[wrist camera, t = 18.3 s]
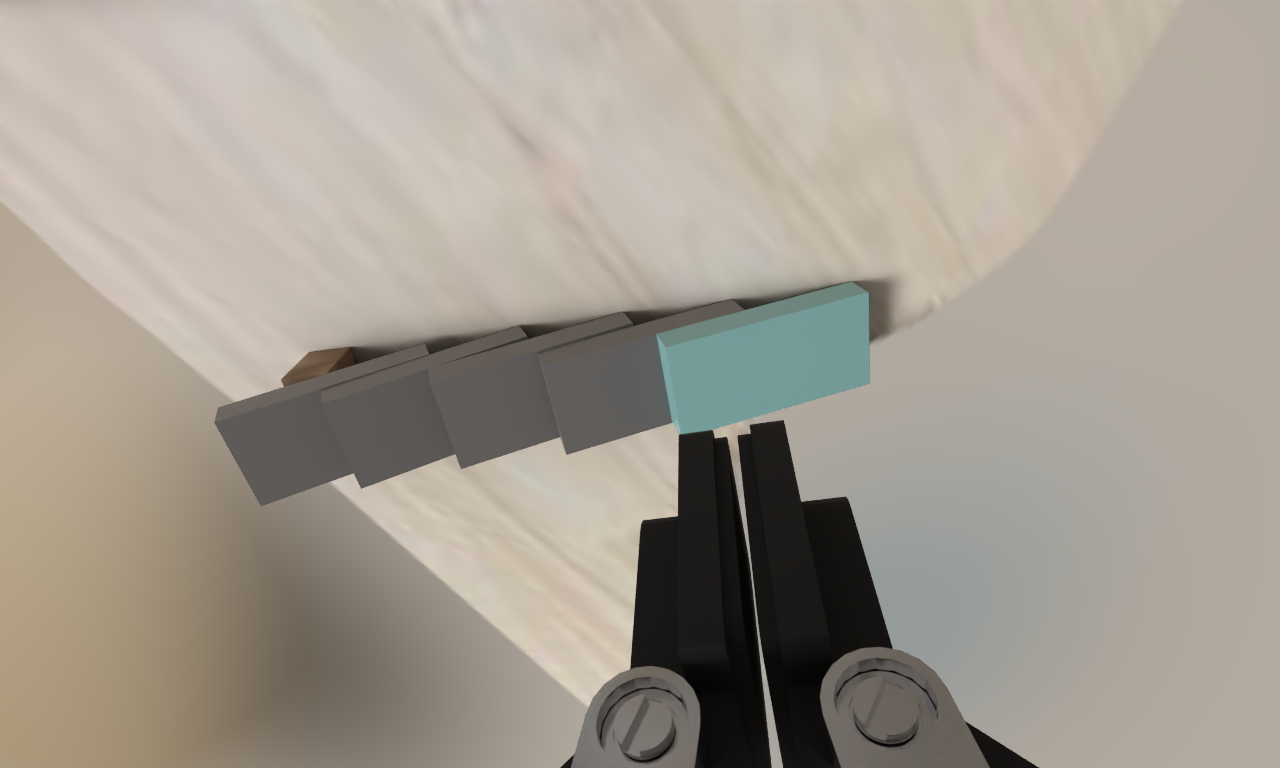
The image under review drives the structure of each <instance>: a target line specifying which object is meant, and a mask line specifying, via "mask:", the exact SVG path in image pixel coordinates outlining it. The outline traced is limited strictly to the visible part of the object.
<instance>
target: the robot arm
mask: <svg viewBox="0 0 1280 768" xmlns="http://www.w3.org/2000/svg"><path fill="white" fill-rule="evenodd" d="M750 431H751V434H745V435H738V444H739V453H740V463H741V472H742V481H743V490H744V499H745V507H746V517H747V526H748V535H749V543H750V553H751V562H752V571H753V580H754V589H755V598H756V607H757V616H758V624H759V632H760V639H761V646H762V652H763V658H764V664H765V669H766V675H767V680H768V686H769V691H770V696H771V701H772V707H773V713H774V718H775V724H776V730H777V735H778V741H779V746H780V752H781V758H782V763H783V768H1038V767H1037V766H1035V765H1034V764H1032V763H1030V762H1029V761H1027V760H1026V759H1024V758H1022V757H1021V756H1019V755H1018V754H1016V753H1015V752H1013V751H1011V750H1010V749H1008V748H1007V747H1005V746H1004V745H1002V744H1000V743H999V742H997V741H996V740H994V739H992V738H991V737H989V736H988V735H986V734H985V733H983V732H981V731H980V730H978V729H977V728H975V727H973V726H972V725H970V724H969V723H967V722H965V720H964V719H963V717H962V715H961V713H960V711H959V710H958V707H957V705H956V704H955V702H954V700H953V698H952V696H951V694H950V692H949V691H948V689H947V687H946V686H945V684H944V683H943V682H942V680H941V679H940V678H939V676H938V675H937V673H936V672H935V671H934V670H932V669H931V668H930V667H928V666H927V665H926V664H925V663H924V662H922V661H921V660H920V659H918V658H916V657H914V656H911V655H909V654H907V653H905V652H903V651H900V650H895V649H893V648H892V645H891V641H890V638H889V635H888V631H887V628H886V624H885V621H884V618H883V614H882V611H881V607H880V604H879V601H878V597H877V594H876V591H875V587H874V584H873V580H872V577H871V574H870V571H869V567H868V564H867V560H866V557H865V554H864V550H863V547H862V544H861V540H860V537H859V533H858V530H857V527H856V523H855V520H854V516H853V513H852V510H851V507H850V504H849V501H848V499H847V497H839V498H830V499H823V500H813V501H805V502H801V500H800V495H799V490H798V486H797V481H796V476H795V471H794V467H793V462H792V457H791V452H790V447H789V443H788V438H787V434H786V428H785V424H784V420H782V421H774V422H766V423H759V424H752V425H750ZM561 768H772V767H771V757H770V748H769V738H768V729H767V721H766V710H765V701H764V692H763V682H762V673H761V664H760V654H759V645H758V636H757V627H756V617H755V608H754V599H753V589H752V580H751V572H750V564H749V557H748V551H747V546H746V540H745V534H744V529H743V523H742V518H741V512H740V506H739V500H738V495H737V489H736V484H735V478H734V472H733V467H732V461H731V455H730V450H729V444H728V439H727V437H723V438H715V437H714V433H713V430H708V431H700V432H693V433H686V434H680V435H679V466H678V516H677V517H669V518H660V519H652V520H643V522H642V524H641V531H640V543H639V557H638V571H637V584H636V598H635V612H634V626H633V640H632V654H631V667H630V670H628V671H625V672H622V673H620V674H618V675H617V676H615V677H614V678H612V679H611V680H610V681H608V682H607V683H605V684H604V685H603V687H602V688H601V689H600V690H599V691H598V693H597V694H596V695H595V696H594V697H593V699H592V701H591V704H590V706H589V708H588V710H587V713H586V715H585V719H584V723H583V726H582V730H581V734H580V737H579V740H578V744H577V748H576V751H575V754H574V755H573V756H572V757H571V758H570V759H569V760H568V761H567V762H566V763H565V764H564V765H563V766H562V767H561Z"/></svg>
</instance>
